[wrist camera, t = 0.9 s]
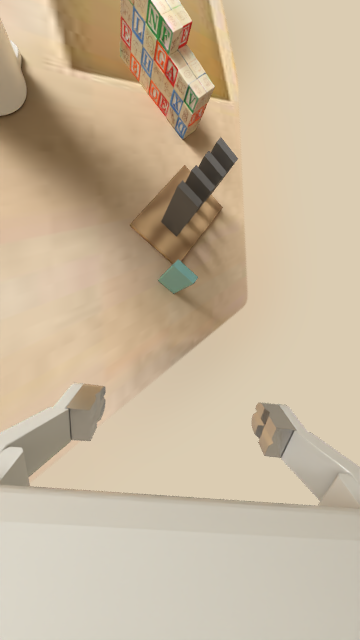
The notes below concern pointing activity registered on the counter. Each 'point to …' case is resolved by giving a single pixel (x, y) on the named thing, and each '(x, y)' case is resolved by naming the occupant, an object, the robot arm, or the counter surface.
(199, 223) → the oak board
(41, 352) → the counter surface
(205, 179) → the domino
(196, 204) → the domino
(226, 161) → the domino
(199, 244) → the counter surface
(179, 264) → the domino
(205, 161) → the domino
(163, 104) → the stack of blocks
